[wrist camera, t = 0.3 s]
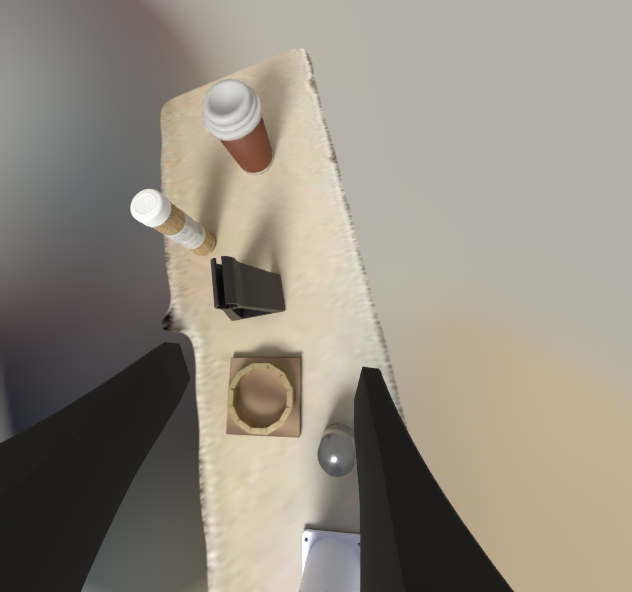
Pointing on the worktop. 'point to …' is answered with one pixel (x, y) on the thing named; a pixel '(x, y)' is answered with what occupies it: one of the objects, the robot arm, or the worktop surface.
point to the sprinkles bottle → (171, 221)
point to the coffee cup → (238, 124)
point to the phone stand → (245, 289)
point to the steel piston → (337, 450)
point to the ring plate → (264, 397)
